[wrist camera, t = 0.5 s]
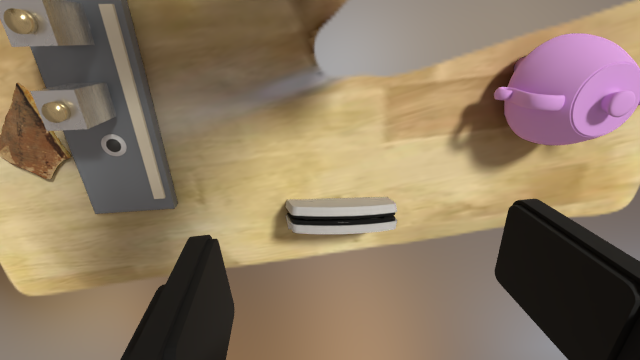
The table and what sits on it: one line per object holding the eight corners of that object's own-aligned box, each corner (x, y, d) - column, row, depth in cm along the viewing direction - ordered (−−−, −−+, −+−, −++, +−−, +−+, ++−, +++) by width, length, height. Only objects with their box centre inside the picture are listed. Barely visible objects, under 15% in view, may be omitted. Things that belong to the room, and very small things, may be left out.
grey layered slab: (285, 226, 49) (285, 245, 39) (285, 198, 49) (284, 209, 39) (385, 223, 51) (408, 239, 41) (385, 195, 51) (409, 205, 41)
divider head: (73, 82, 36) (22, 92, 29) (108, 81, 36) (67, 91, 29) (85, 116, 37) (39, 133, 30) (119, 115, 38) (81, 131, 31)
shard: (26, 81, 37) (14, 82, 36) (91, 114, 40) (83, 117, 38) (2, 151, 40) (-9, 156, 39) (64, 178, 43) (56, 184, 41)
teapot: (624, 31, 42) (750, 28, 30) (589, 131, 48) (683, 159, 36) (487, 35, 40) (566, 34, 29) (468, 138, 46) (527, 170, 35)
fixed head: (45, 4, 32) (-20, -6, 25) (85, 4, 33) (31, -6, 26) (60, 45, 34) (2, 46, 27) (97, 44, 34) (50, 45, 27)
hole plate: (16, -15, 33) (1, -18, 31) (123, -15, 34) (113, -19, 32) (101, 208, 45) (93, 215, 43) (177, 203, 46) (173, 210, 44)
